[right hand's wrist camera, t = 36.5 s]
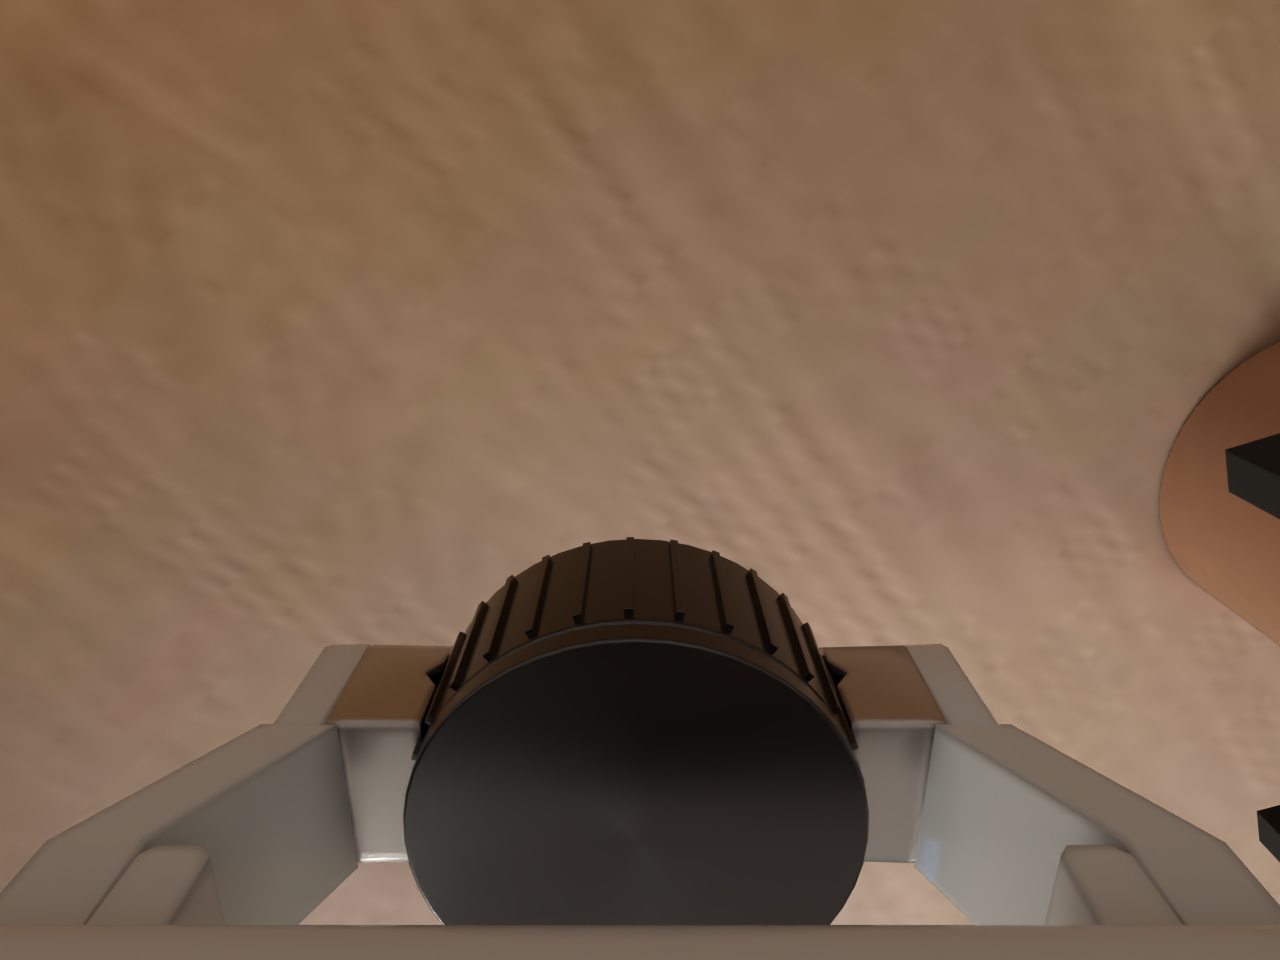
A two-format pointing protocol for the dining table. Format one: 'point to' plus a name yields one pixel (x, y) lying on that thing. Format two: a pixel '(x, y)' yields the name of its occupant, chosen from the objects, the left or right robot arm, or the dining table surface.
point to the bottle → (1226, 496)
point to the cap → (636, 752)
